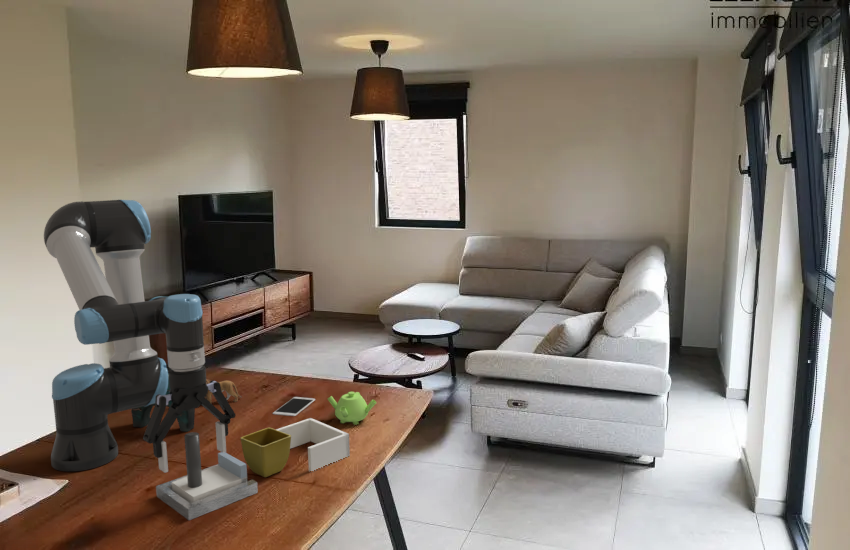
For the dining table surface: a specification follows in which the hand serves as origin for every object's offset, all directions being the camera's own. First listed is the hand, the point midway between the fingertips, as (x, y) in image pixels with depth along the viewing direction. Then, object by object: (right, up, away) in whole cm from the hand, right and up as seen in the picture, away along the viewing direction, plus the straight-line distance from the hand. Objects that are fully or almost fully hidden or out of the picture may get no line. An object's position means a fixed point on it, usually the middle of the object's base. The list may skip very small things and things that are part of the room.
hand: (193, 460), depth 148 cm
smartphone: (+11, 0, +58) cm, 59 cm away
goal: (+21, -5, +24) cm, 32 cm away
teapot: (+30, -2, +46) cm, 55 cm away
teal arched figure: (-23, -3, +43) cm, 49 cm away
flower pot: (+13, -7, +15) cm, 21 cm away
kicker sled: (+2, -8, +4) cm, 9 cm away
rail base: (+2, -9, +4) cm, 10 cm away
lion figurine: (-14, +1, +62) cm, 63 cm away
